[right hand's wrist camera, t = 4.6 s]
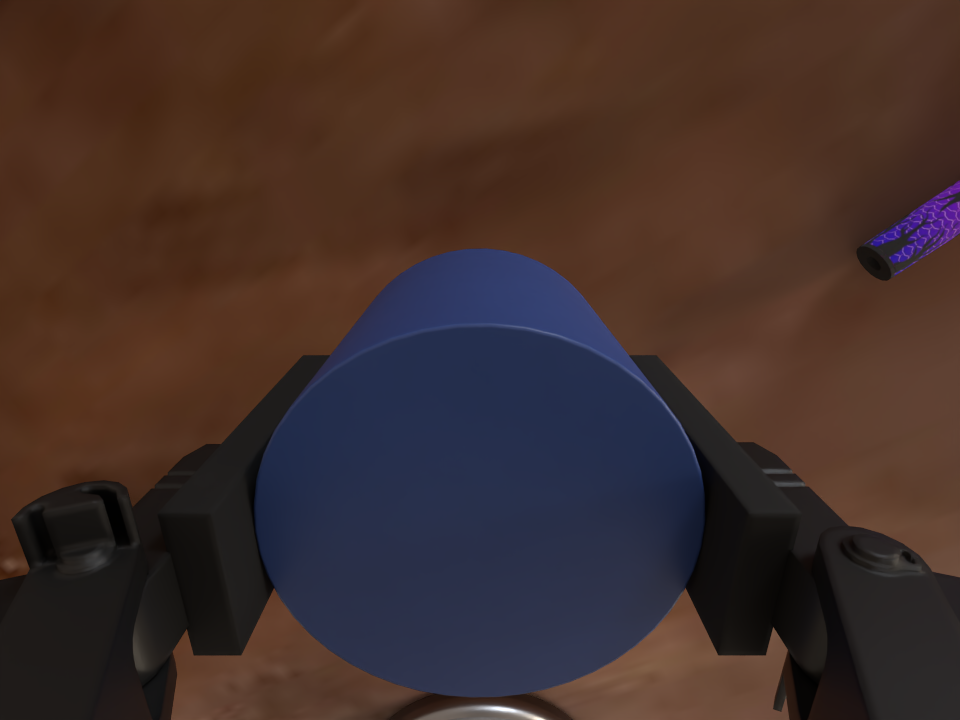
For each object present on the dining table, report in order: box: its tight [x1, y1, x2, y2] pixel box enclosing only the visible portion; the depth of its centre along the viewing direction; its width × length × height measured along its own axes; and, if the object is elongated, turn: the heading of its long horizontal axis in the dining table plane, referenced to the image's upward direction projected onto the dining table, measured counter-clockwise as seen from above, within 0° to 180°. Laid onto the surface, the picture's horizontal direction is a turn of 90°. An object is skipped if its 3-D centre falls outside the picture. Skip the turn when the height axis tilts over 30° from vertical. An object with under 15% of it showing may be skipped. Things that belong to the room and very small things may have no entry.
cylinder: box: [254, 249, 705, 697], centre depth 12 cm, size 8×8×7 cm
